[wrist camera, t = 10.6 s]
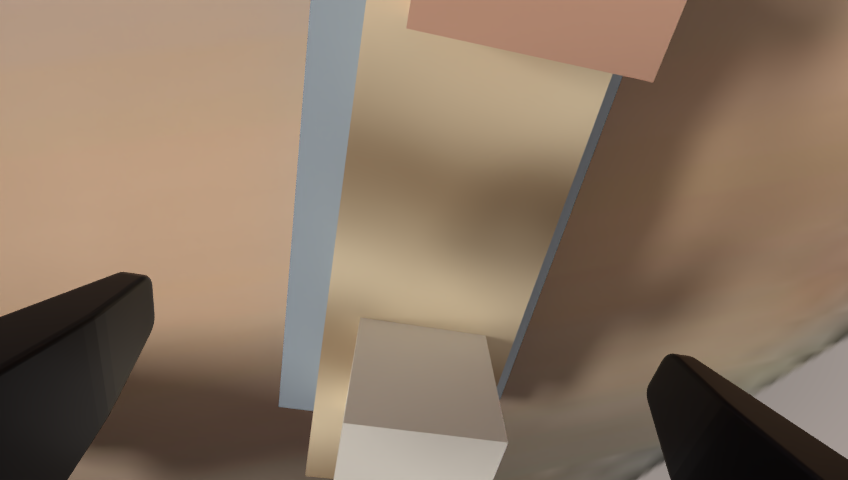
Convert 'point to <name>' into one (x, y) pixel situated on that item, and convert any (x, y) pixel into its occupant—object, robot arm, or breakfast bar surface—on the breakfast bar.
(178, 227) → the breakfast bar surface
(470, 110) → the tan long bar
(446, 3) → the salmon pink cube
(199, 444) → the breakfast bar surface
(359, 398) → the white cube
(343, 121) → the dock
